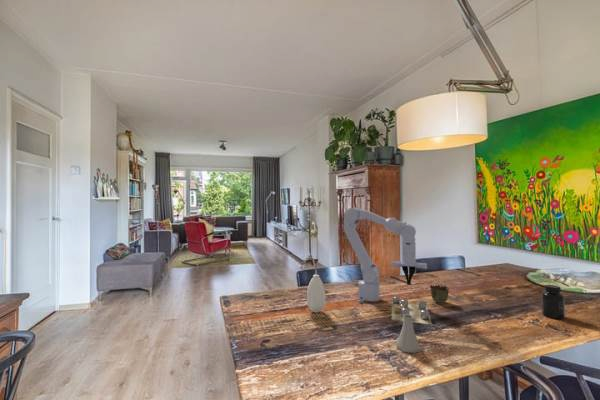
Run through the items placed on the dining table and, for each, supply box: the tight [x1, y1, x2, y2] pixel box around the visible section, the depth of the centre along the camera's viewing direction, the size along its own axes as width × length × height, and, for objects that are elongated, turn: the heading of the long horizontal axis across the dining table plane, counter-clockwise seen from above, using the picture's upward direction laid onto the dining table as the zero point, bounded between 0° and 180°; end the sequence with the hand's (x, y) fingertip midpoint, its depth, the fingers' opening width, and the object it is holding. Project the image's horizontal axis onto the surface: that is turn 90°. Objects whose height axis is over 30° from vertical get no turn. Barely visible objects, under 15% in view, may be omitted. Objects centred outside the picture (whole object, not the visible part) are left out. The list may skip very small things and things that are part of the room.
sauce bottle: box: [306, 269, 327, 314], centre depth 119 cm, size 8×8×18 cm
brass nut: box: [394, 304, 404, 313], centre depth 116 cm, size 4×4×2 cm
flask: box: [396, 314, 422, 354], centre depth 90 cm, size 7×7×10 cm
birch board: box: [391, 302, 433, 325], centre depth 115 cm, size 14×19×1 cm
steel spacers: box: [392, 295, 430, 320], centre depth 116 cm, size 13×16×3 cm
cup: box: [429, 284, 450, 305], centre depth 126 cm, size 8×7×8 cm
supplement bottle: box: [541, 284, 566, 320], centre depth 113 cm, size 7×7×12 cm
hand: (408, 283), depth 124 cm, fingers closed
